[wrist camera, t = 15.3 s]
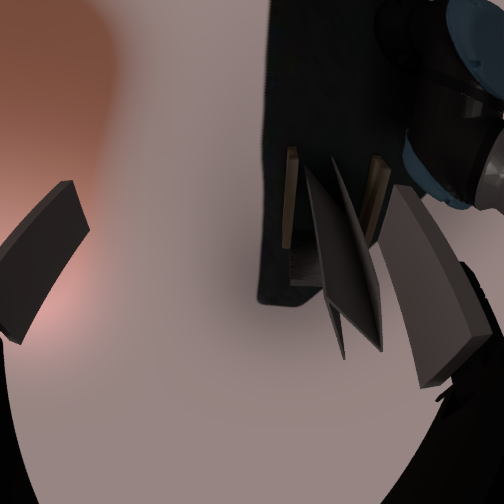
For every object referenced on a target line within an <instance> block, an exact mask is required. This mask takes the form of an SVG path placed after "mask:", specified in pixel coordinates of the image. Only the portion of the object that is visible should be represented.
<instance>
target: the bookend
mask: <svg viewBox="0 0 504 504" xmlns="http://www.w3.org/2000/svg"><path fill="white" fill-rule="evenodd" d="M289 257H290V285H293V286H318V287H323V284H322V276H321V269H320V261H319V254H318V247H317V240H316V234H315V231H308V230H292V236H291V245H290V249H289Z"/></svg>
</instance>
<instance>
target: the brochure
mask: <svg viewBox="0 0 504 504" xmlns="http://www.w3.org/2000/svg"><path fill="white" fill-rule="evenodd" d="M332 162H333V165H334V169H335V172H336V176H337V180H338V184H339V187H340V191H341V195H342V199H343V203H344V207H345V211H346V215H345V214H344V212H343V211H342V210H341V209H340V207H339V206H338V205H337V203H336V202H335V201H334V200H333V198H332V197H331V196H330V194H329V193H328V192H327V191H326V189H325V188H324V187H323V186H322V185H321V183H320V182H319V181H318V180H317V178H316V177H315V176H314V175H313V174H312V172H311V171H310V170H309V169H308V168H307V166H306V165H304V170H305V175H306V181H307V186H308V192H309V197H310V203H311V209H312V215H313V221H314V227H315V234H316V240H317V247H318V254H319V261H320V269H321V276H322V284H323V293H324V299H325V302H326V305H327V308H328V311H329V314H330V318H331V321H332V324H333V327H334V330H335V333H336V337H337V340H338V344H339V346H340V350H341V354H342V357H343V360H345V351H344V343H343V335H342V327H341V320H340V313H341V314H342V315H343V316H344V317H345V318H346V319H347V320H348V321H349V322H350V323H352V324H353V326H354V327H356V328H357V330H359V332H361V333H362V334H363V335H364V336H365V337H366V338H367V339H368V340H369V341H370V342H371V343H372V344H373V345H374V346H375V347H376V348H377V349H378V350H379V351H380V352H383V336H382V315H381V302H380V289H379V282H378V279H377V276H376V272H375V269H374V266H373V263H372V259H371V256H370V253H369V250H368V247H367V244H366V241H365V238H364V235H363V233H362V230H361V227H360V224H359V221H358V219H357V216H356V213H355V210H354V208H353V205H352V203H351V200H350V197H349V195H348V192H347V190H346V187H345V185H344V182H343V180H342V178H341V175H340V173H339V170H338V168H337V166H336V163H335V161H334V159H333V157H332ZM339 312H340V313H339Z"/></svg>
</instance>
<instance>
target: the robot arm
mask: <svg viewBox="0 0 504 504" xmlns="http://www.w3.org/2000/svg"><path fill="white" fill-rule="evenodd" d="M375 35H376V39H377V41H378V44H379V46H380V48H381V50H382V52H383V53H384V55H385V56H386V57H387V58H388V59H389V61H390V62H391V63H393V64H394V65H395V66H396V67H398V68H399V69H401V70H402V71H404V72H406V73H409V74H411V75H415V76H418V77H419V82H418V87H417V92H416V97H415V102H414V107H413V111H412V116H411V120H410V124H409V128H407V130H406V134H405V136H406V141H405V146H404V150H403V160H404V166H405V168H406V170H407V172H408V173H409V175H410V176H411V177H412V179H413V180H414V181H415V182H416V183H417V184H418V185H419V186H420V187H421V188H422V189H423V190H425V191H426V192H427V193H428V194H430V195H431V196H432V197H434V198H435V199H437V200H439V201H440V202H442V201H444V202H445V203H446V204H447V205H448V206H450V207H452V208H455V209H460V210H464V209H468V208H469V207H471V206H472V205H473V206H474V207H475V208H477V209H478V210H480V211H481V210H485V209H490V208H494V209H497V210H498V211H499V212H500V213H502V214H503V215H504V120H503V113H504V11H503V10H502V9H501V8H500V7H498V6H497V5H495V4H493V3H492V2H490V1H487V0H431V1H430V0H387V1H386V2H384V3H383V4H382V5H381V7H380V8H379V10H378V12H377V14H376V17H375ZM425 78H426V79H425ZM430 80H431V81H430ZM433 81H434V82H433ZM438 83H439V84H438ZM443 85H444V86H443ZM448 87H449V88H448ZM455 90H456V91H455ZM462 93H463V94H462ZM464 94H465V95H464ZM466 95H467V96H466ZM89 231H90V229H89V226H88V224H87V221H86V218H85V215H84V213H83V210H82V207H81V204H80V201H79V198H78V195H77V192H76V189H75V186H74V183H73V180H70V181H61V182H60V183H59V184H57V185H56V186H55V187H54V188H53V189H52V190H51V191H50V192H49V193H48V194H47V195H46V196H45V197H44V198H43V199H42V200H41V201H40V202H39V203H38V204H37V205H36V206H35V207H34V208H33V209H32V210H31V212H30V213H29V214H28V215H27V216H26V217H25V218H24V219H23V220H22V221H21V222H20V224H19V225H18V226H17V227H16V228H15V229H14V230H13V232H12V233H11V234H10V235H9V236H8V238H7V239H6V240H5V241H4V242H3V244H2V245H1V246H0V331H1V332H2V333H3V334H4V335H5V336H6V337H7V338H8V339H9V340H10V341H12V342H14V343H17V344H19V345H21V344H22V341H23V339H24V337H25V335H26V333H27V331H28V329H29V327H30V325H31V324H32V322H33V320H34V318H35V316H36V314H37V312H38V311H39V309H40V307H41V305H42V304H43V302H44V300H45V298H46V297H47V295H48V293H49V291H50V290H51V288H52V286H53V285H54V283H55V282H56V280H57V278H58V277H59V275H60V273H61V272H62V270H63V269H64V267H65V266H66V264H67V263H68V261H69V260H70V258H71V257H72V255H73V254H74V252H75V251H76V249H77V248H78V246H79V245H80V244H81V242H82V241H83V239H84V238H85V236H86V235H87V234H88V232H89ZM378 243H379V246H380V249H381V252H382V254H383V257H384V260H385V263H386V266H387V268H388V271H389V274H390V277H391V280H392V283H393V286H394V289H395V292H396V295H397V299H398V302H399V305H400V309H401V312H402V315H403V319H404V323H405V326H406V330H407V333H408V337H409V341H410V345H411V348H412V353H413V357H414V361H415V366H416V371H417V375H418V380H419V384H420V389H422V388H429V387H434V386H440V385H441V384H442V383H443V382H445V381H446V380H447V379H448V378H449V377H450V376H451V379H452V383H453V385H451V386H450V387H449V388H448V389H447V390H445V391H444V392H443V393H442V394H440V395H439V396H438V398H437V399H436V400H435V401H436V402H439V401H440V400H441V399H443V398H444V397H445V398H444V400H443V402H442V404H441V406H440V408H439V410H438V412H437V415H436V417H435V419H434V421H433V422H432V425H431V426H430V428H429V430H428V432H427V434H426V436H425V437H424V439H423V441H422V443H421V445H420V446H419V448H418V450H417V451H416V453H415V455H414V456H413V458H412V459H411V461H410V463H409V464H408V466H407V467H406V469H405V470H404V472H403V473H402V475H401V476H400V478H399V479H398V481H397V482H396V483H395V485H394V486H393V488H392V489H391V490H390V492H389V493H388V495H387V496H386V497H385V499H384V500H383V501H382V502H381V504H504V336H503V334H502V332H501V329H500V327H499V325H498V322H497V320H496V317H495V315H494V313H493V311H492V309H491V306H490V304H489V302H488V300H487V298H485V294H484V292H483V290H482V288H480V284H479V282H478V280H477V278H476V276H475V274H474V273H473V271H472V270H471V269H470V268H469V267H468V266H467V265H466V264H465V263H464V262H459V261H458V259H457V257H456V255H455V254H454V252H453V250H452V249H451V247H450V245H449V243H448V242H447V240H446V238H445V237H444V235H443V233H442V232H441V230H440V228H439V227H438V225H437V224H436V222H435V221H434V219H433V218H432V216H431V215H430V213H429V212H428V210H427V209H426V207H425V206H424V204H423V203H422V201H421V200H420V198H419V197H418V196H417V194H416V193H415V191H414V190H413V189H412V187H409V186H402V185H395V184H394V187H393V191H392V194H391V198H390V202H389V205H388V209H387V212H386V216H385V219H384V222H383V226H382V229H381V232H380V235H379V238H378ZM0 504H39V503H38V500H37V498H36V495H35V493H34V490H33V488H32V485H31V482H30V480H29V477H28V474H27V471H26V468H25V465H24V462H23V459H22V455H21V452H20V448H19V445H18V441H17V437H16V433H15V428H14V424H13V420H12V415H11V409H10V404H9V398H8V391H7V384H6V375H5V367H4V354H3V342H2V339H1V338H0Z"/></svg>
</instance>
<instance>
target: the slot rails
mask: <svg viewBox="0 0 504 504" xmlns="http://www.w3.org/2000/svg"><path fill="white" fill-rule="evenodd" d="M298 162H299V159H298V153H297V148H296V147H291V146H288V150H287V166H286V182H285V196H284V210H283V223H282V248H289V249H290V245H291V236H292V226H293V217H294V206H295V196H296V185H297V174H298ZM390 171H391V169H390V168H389V167H388V165H387V164H386V163H385V161H384V160H383V159H382V158H381V156H378V155H373V156H372V161H371V166H370V171H369V175H368V180H367V185H366V189H365V193H364V198H363V202H362V206H361V210H360V214H359V218H358V221H359V224H360V227H361V230H362V233H363V235H364V238H365V241H366V244H367V247H368V249H369V246H370V243H371V240H372V237H373V233H374V230H375V227H376V224H377V220H378V217H379V213H380V210H381V206H382V203H383V199H384V195H385V191H386V187H387V184H388V180H389V176H390Z"/></svg>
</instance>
